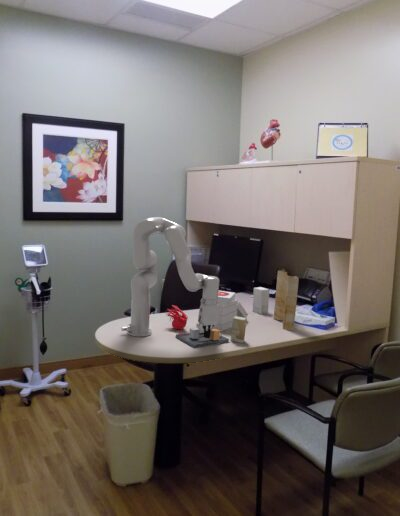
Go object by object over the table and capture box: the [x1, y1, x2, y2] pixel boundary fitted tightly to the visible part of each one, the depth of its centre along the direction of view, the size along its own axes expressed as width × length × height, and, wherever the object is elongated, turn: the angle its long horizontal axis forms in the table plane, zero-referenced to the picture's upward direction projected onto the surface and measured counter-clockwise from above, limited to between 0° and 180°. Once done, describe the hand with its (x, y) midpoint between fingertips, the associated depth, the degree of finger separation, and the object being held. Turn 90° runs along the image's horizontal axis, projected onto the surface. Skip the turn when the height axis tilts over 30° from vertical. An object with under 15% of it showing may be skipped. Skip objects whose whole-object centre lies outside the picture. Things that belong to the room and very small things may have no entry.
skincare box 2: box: [252, 286, 270, 315], centre depth 298 cm, size 8×7×16 cm
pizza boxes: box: [200, 290, 249, 332], centre depth 270 cm, size 19×30×18 cm, turn 145°
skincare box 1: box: [230, 316, 248, 344], centre depth 241 cm, size 6×4×12 cm
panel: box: [175, 332, 230, 349], centre depth 240 cm, size 21×17×2 cm
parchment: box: [273, 269, 299, 331], centre depth 275 cm, size 23×6×30 cm, turn 8°
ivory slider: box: [195, 322, 204, 333], centre depth 247 cm, size 4×4×4 cm
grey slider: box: [188, 326, 200, 339], centre depth 237 cm, size 4×4×4 cm
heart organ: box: [165, 304, 189, 331], centre depth 255 cm, size 10×12×12 cm
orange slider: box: [210, 328, 221, 340], centre depth 237 cm, size 4×4×4 cm
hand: (206, 337), depth 235 cm, fingers closed
